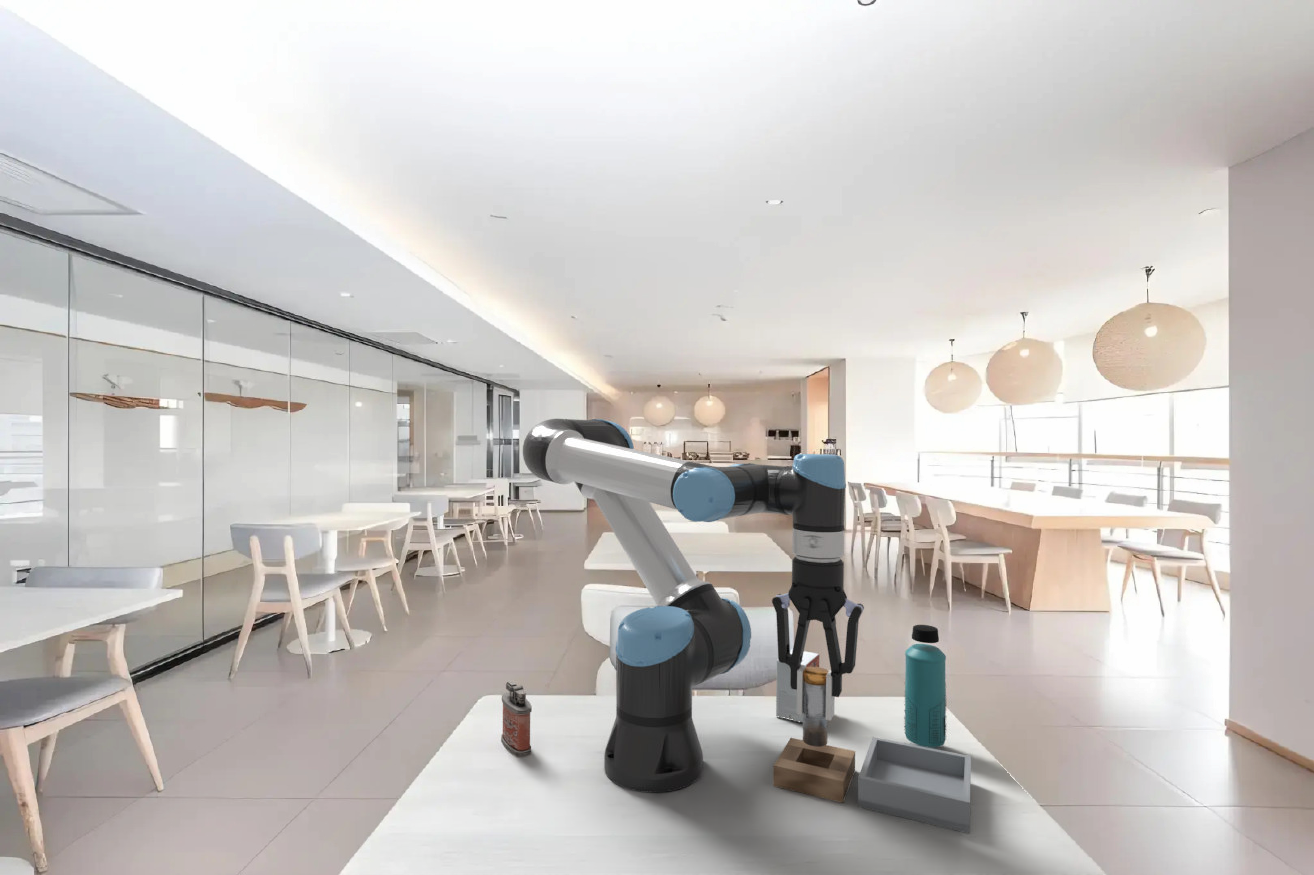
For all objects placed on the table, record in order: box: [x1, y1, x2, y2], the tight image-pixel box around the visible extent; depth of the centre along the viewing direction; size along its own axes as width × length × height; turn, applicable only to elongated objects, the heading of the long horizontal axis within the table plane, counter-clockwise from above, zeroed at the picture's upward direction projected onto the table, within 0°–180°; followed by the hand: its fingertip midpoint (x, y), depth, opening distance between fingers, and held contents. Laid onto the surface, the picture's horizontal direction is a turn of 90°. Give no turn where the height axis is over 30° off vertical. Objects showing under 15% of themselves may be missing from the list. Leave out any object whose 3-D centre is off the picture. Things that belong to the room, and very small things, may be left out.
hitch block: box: [772, 737, 856, 803], centre depth 101 cm, size 10×10×3 cm
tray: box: [857, 736, 972, 834], centre depth 96 cm, size 14×14×4 cm
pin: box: [802, 666, 829, 747], centre depth 100 cm, size 4×4×10 cm
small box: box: [775, 648, 820, 723], centre depth 124 cm, size 8×6×10 cm
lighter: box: [500, 679, 533, 758], centre depth 110 cm, size 8×3×10 cm, turn 34°
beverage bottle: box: [903, 624, 948, 748], centre depth 111 cm, size 6×7×20 cm
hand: (815, 713), depth 101 cm, fingers closed on pin, 4 cm apart
